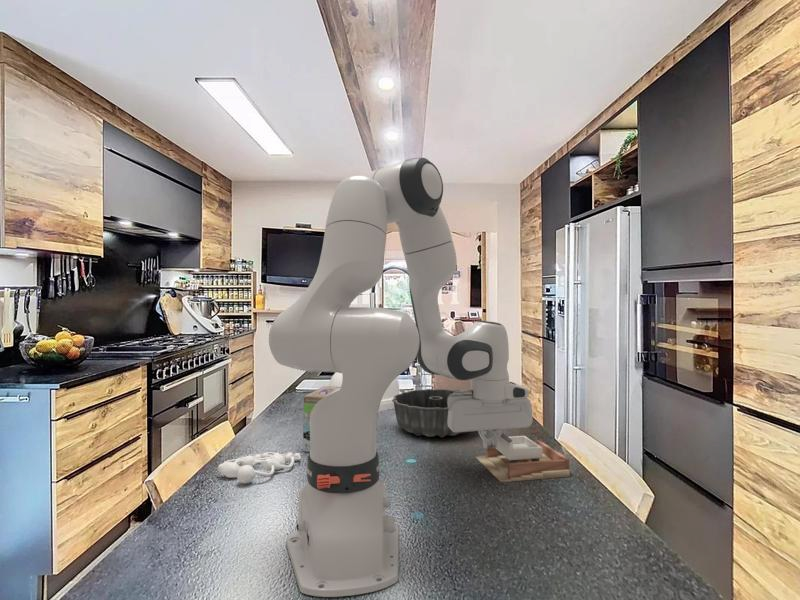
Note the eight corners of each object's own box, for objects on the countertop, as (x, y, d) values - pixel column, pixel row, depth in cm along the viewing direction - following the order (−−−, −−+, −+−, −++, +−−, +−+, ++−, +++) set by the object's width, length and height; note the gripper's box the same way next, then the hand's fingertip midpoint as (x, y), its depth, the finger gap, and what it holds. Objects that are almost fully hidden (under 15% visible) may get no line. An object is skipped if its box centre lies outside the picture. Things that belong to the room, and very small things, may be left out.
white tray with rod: (542, 464, 108) (542, 436, 108) (507, 467, 106) (507, 438, 106) (524, 451, 117) (524, 425, 117) (492, 453, 115) (492, 427, 115)
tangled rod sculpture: (277, 456, 122) (276, 440, 123) (315, 464, 114) (314, 447, 114) (208, 478, 107) (208, 459, 107) (246, 488, 98) (246, 468, 98)
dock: (571, 476, 106) (571, 460, 106) (500, 482, 102) (500, 465, 102) (537, 452, 121) (537, 438, 121) (475, 457, 118) (475, 442, 118)
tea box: (338, 455, 120) (338, 397, 119) (301, 452, 122) (301, 395, 121) (355, 437, 134) (355, 386, 134) (322, 435, 136) (322, 384, 136)
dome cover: (315, 397, 186) (315, 362, 186) (385, 391, 198) (385, 358, 198) (336, 417, 157) (336, 375, 156) (417, 408, 168) (417, 369, 168)
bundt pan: (380, 438, 133) (380, 403, 133) (406, 415, 158) (406, 386, 158) (472, 448, 125) (472, 410, 125) (484, 422, 151) (485, 391, 150)
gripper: (451, 394, 105) (451, 455, 105) (535, 389, 109) (535, 448, 109) (443, 388, 111) (443, 446, 112) (523, 384, 115) (523, 440, 116)
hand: (490, 447), depth 111 cm, fingers closed
